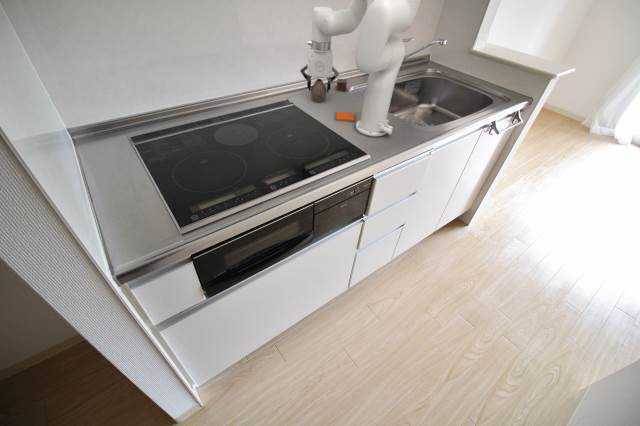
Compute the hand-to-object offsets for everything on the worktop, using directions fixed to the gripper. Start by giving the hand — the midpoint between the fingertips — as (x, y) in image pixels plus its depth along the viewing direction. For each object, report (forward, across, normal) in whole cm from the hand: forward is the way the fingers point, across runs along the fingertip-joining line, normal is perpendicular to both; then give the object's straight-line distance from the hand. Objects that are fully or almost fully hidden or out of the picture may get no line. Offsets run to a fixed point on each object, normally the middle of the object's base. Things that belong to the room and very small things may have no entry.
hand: (318, 90), depth 125 cm
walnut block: (+4, +10, +15) cm, 19 cm away
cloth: (+4, +12, -15) cm, 19 cm away
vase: (+4, 0, 0) cm, 4 cm away
